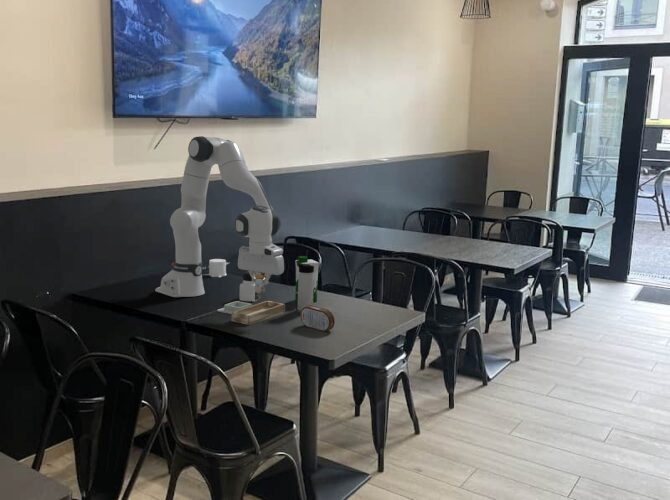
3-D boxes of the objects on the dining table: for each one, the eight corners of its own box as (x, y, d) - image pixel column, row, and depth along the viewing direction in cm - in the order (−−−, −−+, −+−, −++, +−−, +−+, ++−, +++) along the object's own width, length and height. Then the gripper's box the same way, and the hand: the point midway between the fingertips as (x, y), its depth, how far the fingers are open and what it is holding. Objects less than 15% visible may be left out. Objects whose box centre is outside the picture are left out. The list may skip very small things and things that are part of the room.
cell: (252, 291, 273) (252, 271, 271) (259, 289, 276) (259, 270, 275) (261, 293, 270) (261, 273, 269) (267, 291, 274) (267, 271, 273)
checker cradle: (217, 311, 280) (217, 304, 280) (235, 305, 291) (235, 299, 290) (240, 316, 274) (240, 309, 274) (259, 310, 285) (259, 303, 284)
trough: (231, 321, 267) (231, 312, 267) (267, 308, 287) (267, 300, 286) (250, 325, 263) (250, 316, 262) (285, 312, 282) (285, 304, 282)
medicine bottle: (255, 302, 297) (255, 274, 295) (239, 300, 298) (239, 273, 296) (260, 298, 304) (260, 271, 302) (244, 296, 305) (245, 270, 303)
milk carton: (292, 300, 302) (293, 255, 298) (311, 298, 306) (312, 254, 303) (300, 305, 294) (302, 259, 291) (319, 303, 298) (321, 257, 295)
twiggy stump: (245, 277, 346) (245, 261, 344) (212, 282, 332) (213, 265, 331) (221, 270, 359) (221, 255, 358) (189, 275, 346) (189, 259, 344)
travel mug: (293, 310, 285) (295, 263, 282) (306, 308, 290) (307, 261, 286) (303, 314, 281) (304, 265, 277) (315, 312, 285) (317, 264, 281)
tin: (334, 332, 258) (335, 310, 257) (329, 334, 256) (330, 312, 254) (304, 324, 267) (305, 302, 266) (298, 325, 265) (299, 304, 263)
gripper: (234, 246, 273) (234, 280, 275) (277, 252, 262) (276, 288, 265) (244, 244, 278) (244, 278, 280) (286, 250, 268) (286, 285, 270)
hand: (260, 283), depth 273 cm, fingers closed on cell, 4 cm apart
